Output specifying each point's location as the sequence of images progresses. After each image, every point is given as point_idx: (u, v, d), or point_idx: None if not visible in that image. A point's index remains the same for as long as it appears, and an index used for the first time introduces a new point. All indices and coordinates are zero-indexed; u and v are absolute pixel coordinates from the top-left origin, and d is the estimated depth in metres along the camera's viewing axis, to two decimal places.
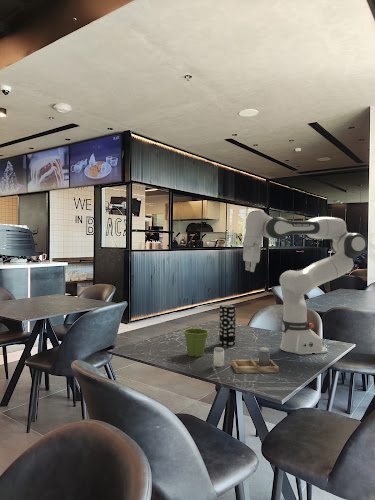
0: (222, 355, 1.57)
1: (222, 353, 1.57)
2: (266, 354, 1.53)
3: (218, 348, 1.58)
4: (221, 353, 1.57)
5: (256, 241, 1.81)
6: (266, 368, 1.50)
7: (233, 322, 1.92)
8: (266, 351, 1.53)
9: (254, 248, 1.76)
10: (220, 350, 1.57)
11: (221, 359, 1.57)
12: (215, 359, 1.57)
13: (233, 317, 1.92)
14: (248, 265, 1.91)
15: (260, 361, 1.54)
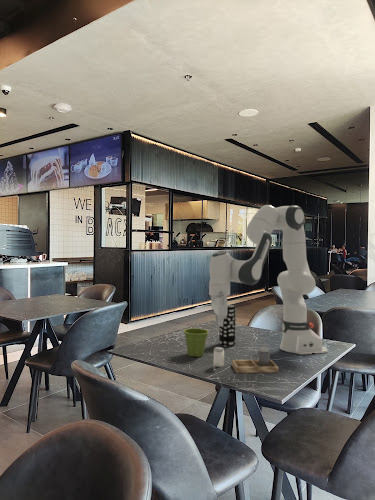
0: (222, 355, 1.57)
1: (222, 353, 1.57)
2: (266, 354, 1.53)
3: (218, 348, 1.58)
4: (221, 353, 1.57)
5: (222, 289, 1.54)
6: (266, 368, 1.50)
7: (233, 322, 1.92)
8: (266, 351, 1.53)
9: (220, 300, 1.49)
10: (220, 350, 1.57)
11: (221, 359, 1.57)
12: (215, 359, 1.57)
13: (233, 317, 1.92)
14: (218, 315, 1.64)
15: (260, 361, 1.54)
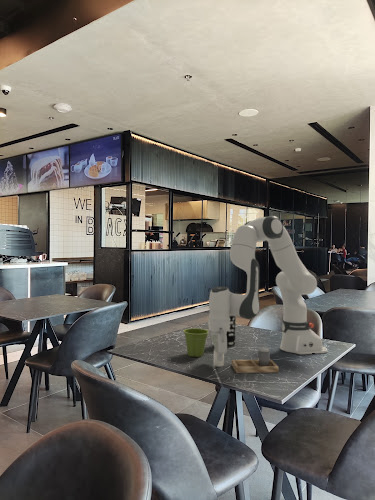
0: None
1: None
2: (266, 354, 1.53)
3: None
4: None
5: (222, 325, 1.54)
6: (266, 368, 1.50)
7: (233, 322, 1.92)
8: (266, 351, 1.53)
9: (219, 337, 1.49)
10: None
11: None
12: (215, 359, 1.57)
13: (233, 317, 1.92)
14: None
15: (260, 361, 1.54)
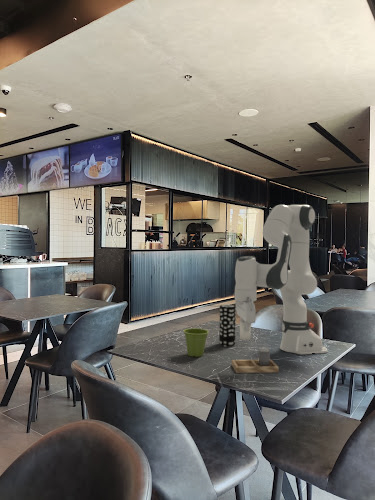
0: None
1: None
2: (266, 354, 1.53)
3: None
4: None
5: (249, 295, 1.50)
6: (266, 368, 1.50)
7: (233, 322, 1.92)
8: (266, 351, 1.53)
9: (247, 306, 1.45)
10: None
11: None
12: (242, 330, 1.53)
13: (233, 317, 1.92)
14: None
15: (260, 361, 1.54)
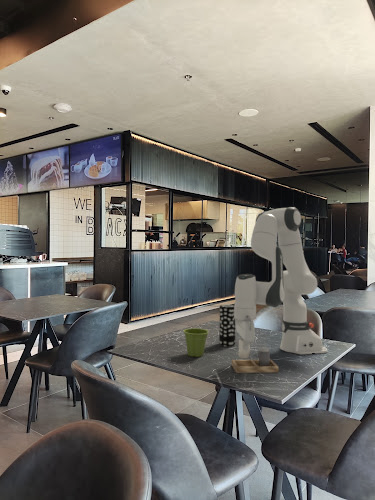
0: None
1: None
2: (266, 354, 1.53)
3: None
4: None
5: (249, 313, 1.50)
6: (266, 368, 1.50)
7: (233, 322, 1.92)
8: (266, 351, 1.53)
9: (247, 325, 1.45)
10: None
11: None
12: (241, 348, 1.53)
13: (233, 317, 1.92)
14: None
15: (260, 361, 1.54)
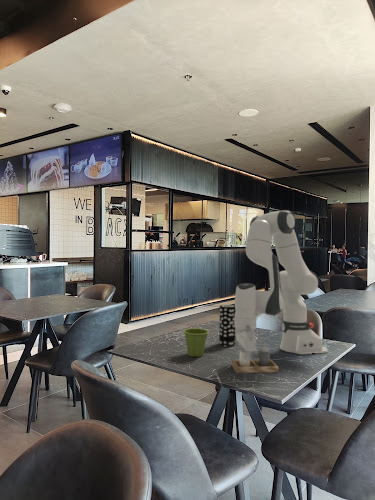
0: None
1: None
2: (266, 354, 1.53)
3: None
4: None
5: (249, 323, 1.50)
6: (266, 368, 1.50)
7: (233, 322, 1.92)
8: (266, 351, 1.53)
9: (247, 335, 1.45)
10: None
11: None
12: (241, 360, 1.53)
13: (233, 317, 1.92)
14: (243, 347, 1.60)
15: (260, 361, 1.54)
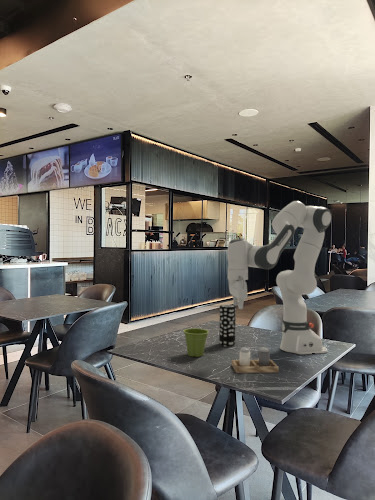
0: (248, 356, 1.53)
1: (248, 354, 1.53)
2: (266, 354, 1.53)
3: (244, 349, 1.54)
4: (247, 354, 1.52)
5: (241, 274, 1.61)
6: (266, 368, 1.50)
7: (233, 322, 1.92)
8: (266, 351, 1.53)
9: (240, 284, 1.56)
10: (246, 351, 1.53)
11: (248, 360, 1.52)
12: (241, 360, 1.53)
13: (233, 317, 1.92)
14: (236, 299, 1.71)
15: (260, 361, 1.54)
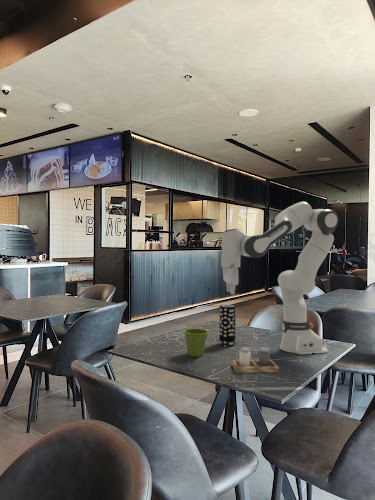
0: (248, 356, 1.53)
1: (248, 354, 1.53)
2: (266, 354, 1.53)
3: (244, 349, 1.54)
4: (247, 354, 1.52)
5: (234, 261, 1.72)
6: (266, 368, 1.50)
7: (233, 322, 1.92)
8: (266, 351, 1.53)
9: (232, 270, 1.68)
10: (246, 351, 1.53)
11: (248, 360, 1.52)
12: (241, 360, 1.53)
13: (233, 317, 1.92)
14: (229, 286, 1.82)
15: (260, 361, 1.54)
